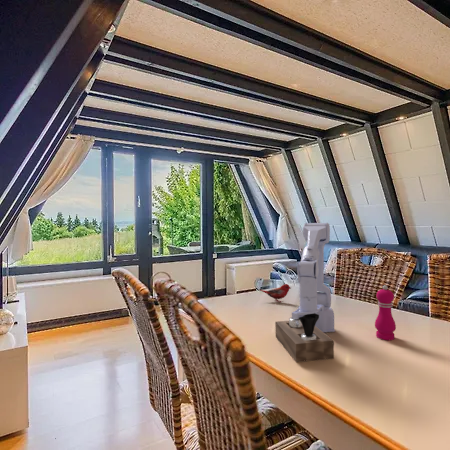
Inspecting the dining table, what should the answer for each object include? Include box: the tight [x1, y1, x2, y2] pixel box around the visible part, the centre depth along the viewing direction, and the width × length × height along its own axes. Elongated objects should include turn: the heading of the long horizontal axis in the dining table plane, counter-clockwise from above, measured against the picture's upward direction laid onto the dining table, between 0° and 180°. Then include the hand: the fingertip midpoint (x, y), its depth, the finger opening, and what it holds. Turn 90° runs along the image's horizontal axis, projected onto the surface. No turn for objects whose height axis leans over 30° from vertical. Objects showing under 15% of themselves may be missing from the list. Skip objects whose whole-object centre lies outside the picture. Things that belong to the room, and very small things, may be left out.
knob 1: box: [288, 316, 303, 328], centre depth 124 cm, size 5×5×6 cm
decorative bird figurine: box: [259, 283, 291, 303], centre depth 177 cm, size 3×18×10 cm, turn 72°
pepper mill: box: [374, 284, 397, 341], centre depth 125 cm, size 7×7×20 cm
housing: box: [274, 320, 335, 363], centre depth 118 cm, size 13×22×6 cm, turn 8°
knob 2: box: [301, 333, 316, 341], centre depth 112 cm, size 5×5×6 cm
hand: (308, 335), depth 112 cm, fingers closed, pressing on knob 2
